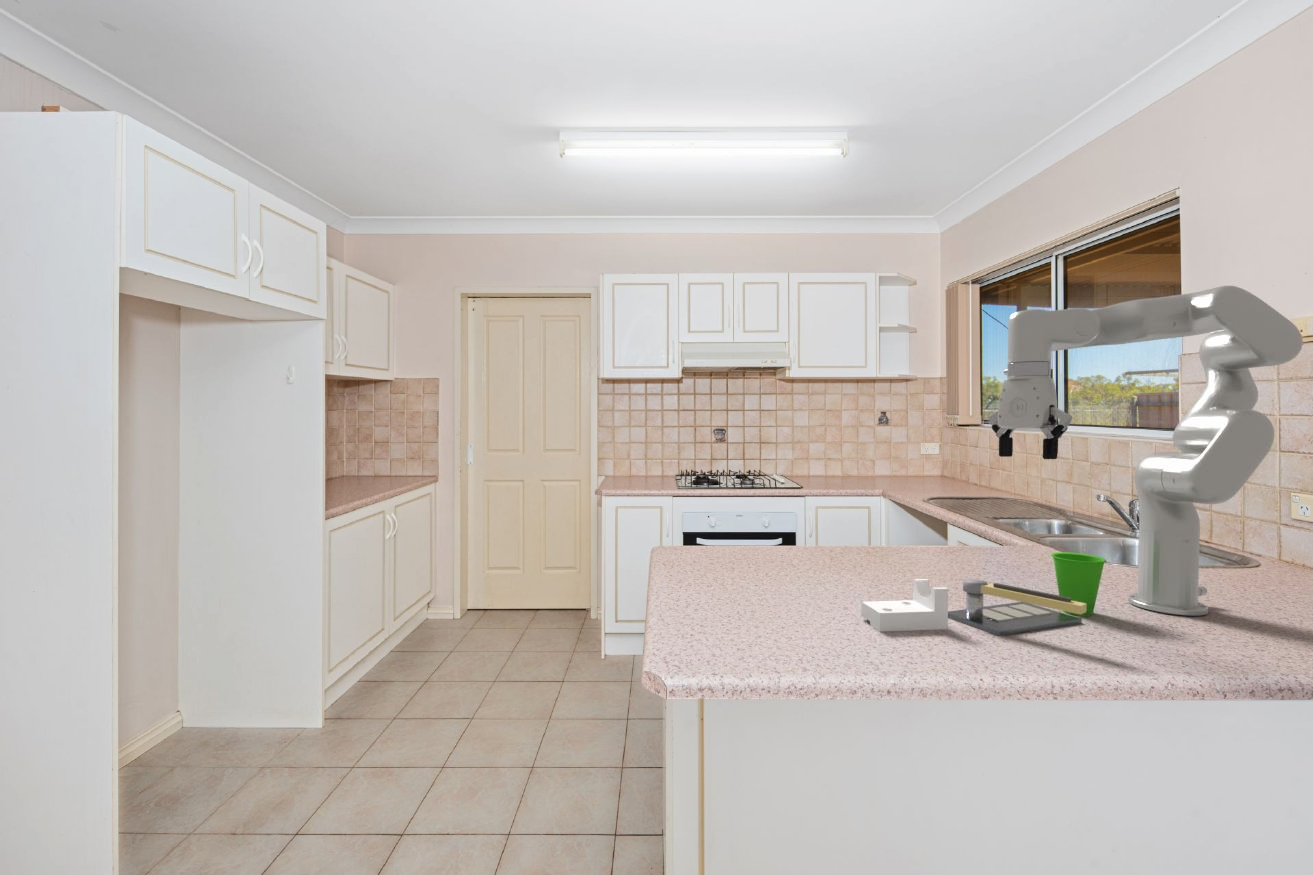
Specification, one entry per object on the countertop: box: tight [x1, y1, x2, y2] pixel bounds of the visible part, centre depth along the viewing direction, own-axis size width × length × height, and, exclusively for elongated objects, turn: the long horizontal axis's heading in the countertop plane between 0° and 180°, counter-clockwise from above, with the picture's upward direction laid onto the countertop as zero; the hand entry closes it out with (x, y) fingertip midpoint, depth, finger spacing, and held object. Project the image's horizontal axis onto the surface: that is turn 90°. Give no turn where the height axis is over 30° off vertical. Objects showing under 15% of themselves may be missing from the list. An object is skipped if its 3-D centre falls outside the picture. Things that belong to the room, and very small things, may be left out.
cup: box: [1050, 551, 1107, 617], centre depth 123 cm, size 9×9×11 cm
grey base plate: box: [948, 592, 1083, 637], centre depth 118 cm, size 21×12×6 cm, turn 111°
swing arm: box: [962, 578, 1087, 615], centre depth 109 cm, size 20×4×2 cm, turn 37°
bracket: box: [860, 578, 949, 632], centre depth 115 cm, size 13×7×8 cm, turn 98°
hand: (1027, 457), depth 125 cm, fingers open, 9 cm apart
